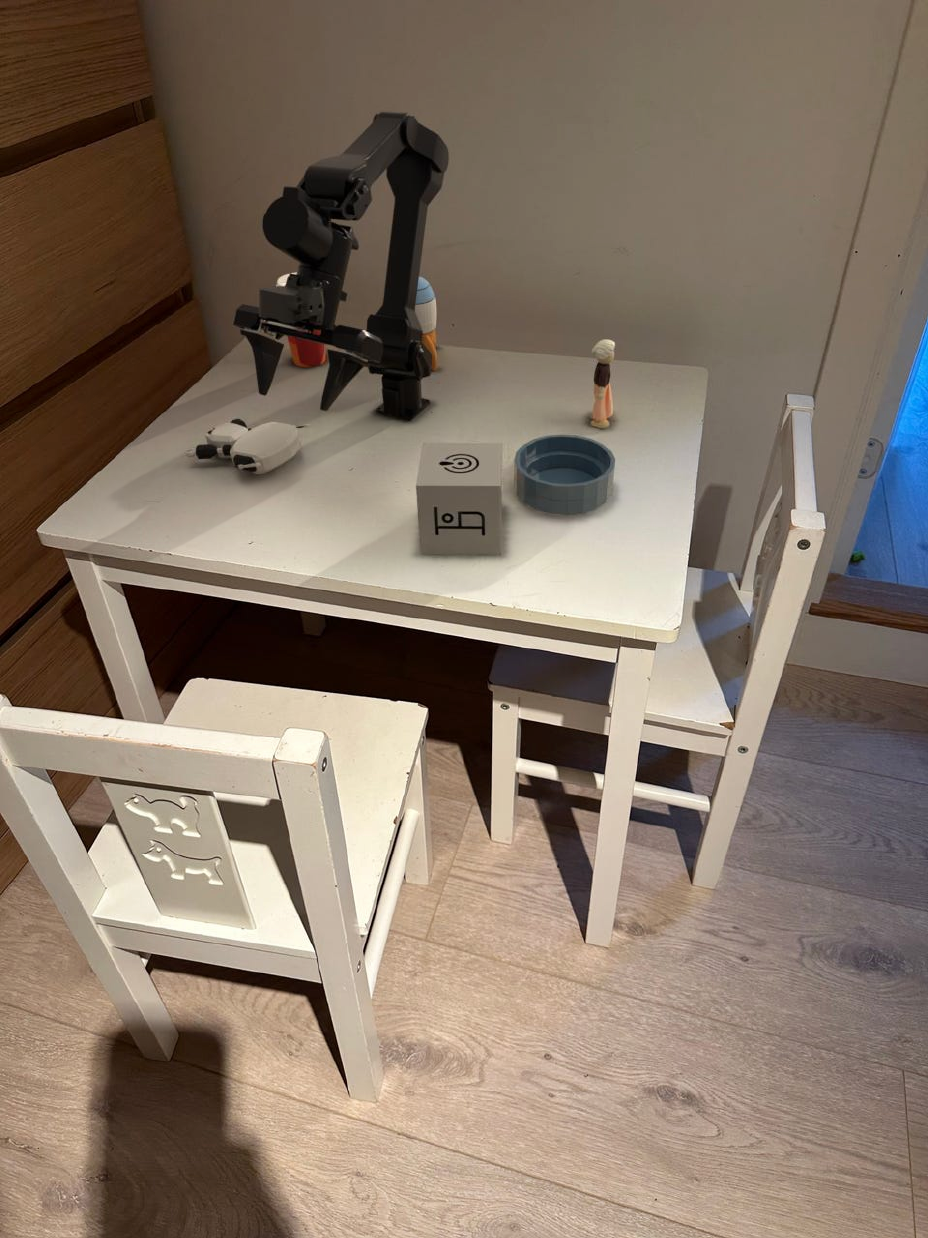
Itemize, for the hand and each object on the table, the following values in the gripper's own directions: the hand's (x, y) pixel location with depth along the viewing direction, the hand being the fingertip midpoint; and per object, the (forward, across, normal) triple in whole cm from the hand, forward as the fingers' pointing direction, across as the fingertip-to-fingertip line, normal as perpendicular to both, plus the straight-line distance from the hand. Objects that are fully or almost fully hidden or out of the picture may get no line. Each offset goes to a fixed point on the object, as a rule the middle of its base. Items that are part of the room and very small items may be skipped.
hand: (292, 402), depth 111 cm
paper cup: (-9, -25, +40) cm, 48 cm away
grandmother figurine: (-10, +28, +40) cm, 49 cm away
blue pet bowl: (+2, +30, +22) cm, 38 cm away
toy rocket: (-13, -9, +46) cm, 48 cm away
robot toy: (+9, -14, +14) cm, 22 cm away
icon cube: (+10, +22, +11) cm, 27 cm away
